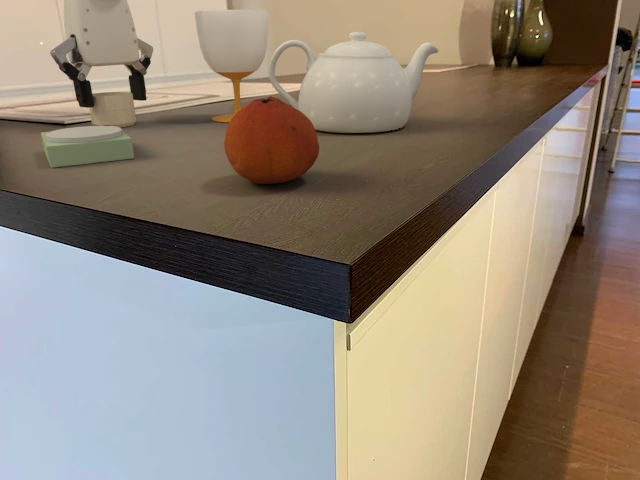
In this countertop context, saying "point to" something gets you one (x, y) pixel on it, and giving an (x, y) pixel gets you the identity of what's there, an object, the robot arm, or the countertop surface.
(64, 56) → the robot arm
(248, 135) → the fruit
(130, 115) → the bowl
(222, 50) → the cup
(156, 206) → the countertop surface
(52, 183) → the countertop surface
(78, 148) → the scale
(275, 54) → the teapot
